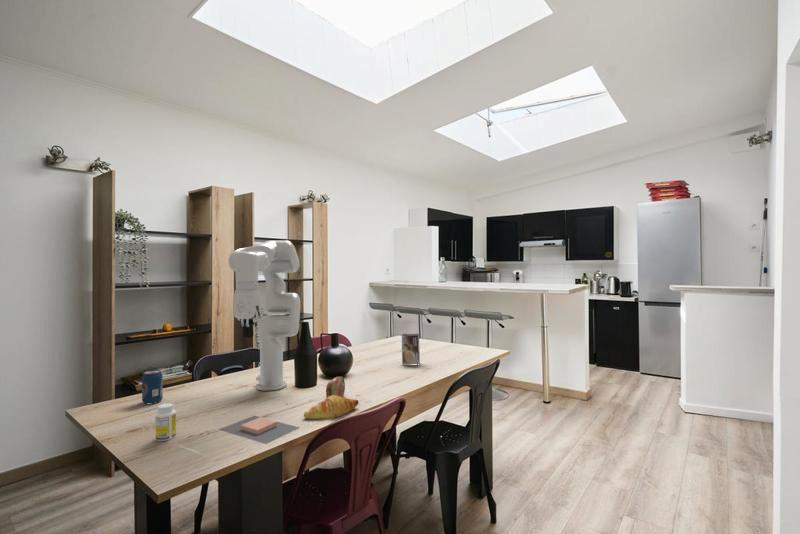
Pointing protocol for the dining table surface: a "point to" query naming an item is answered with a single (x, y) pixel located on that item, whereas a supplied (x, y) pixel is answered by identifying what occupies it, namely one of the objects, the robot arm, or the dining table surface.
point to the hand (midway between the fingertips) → (248, 337)
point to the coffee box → (410, 349)
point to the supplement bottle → (165, 422)
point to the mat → (263, 437)
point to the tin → (336, 387)
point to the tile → (258, 425)
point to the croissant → (331, 408)
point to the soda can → (152, 386)
